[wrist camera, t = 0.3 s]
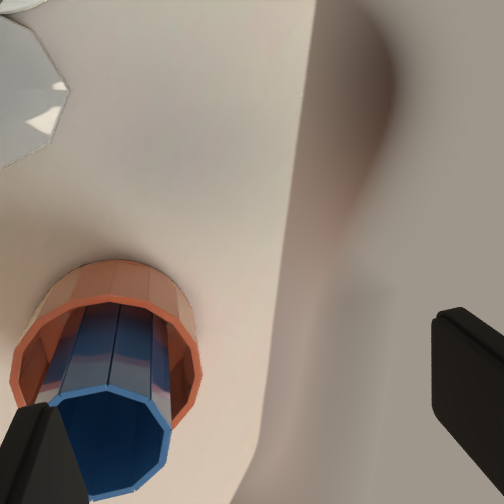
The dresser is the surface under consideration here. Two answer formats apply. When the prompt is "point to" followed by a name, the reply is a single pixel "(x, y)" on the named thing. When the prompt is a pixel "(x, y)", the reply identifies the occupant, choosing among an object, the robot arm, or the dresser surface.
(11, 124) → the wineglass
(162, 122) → the dresser surface
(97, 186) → the dresser surface
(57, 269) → the dresser surface
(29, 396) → the orange bowl
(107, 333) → the blue cup
